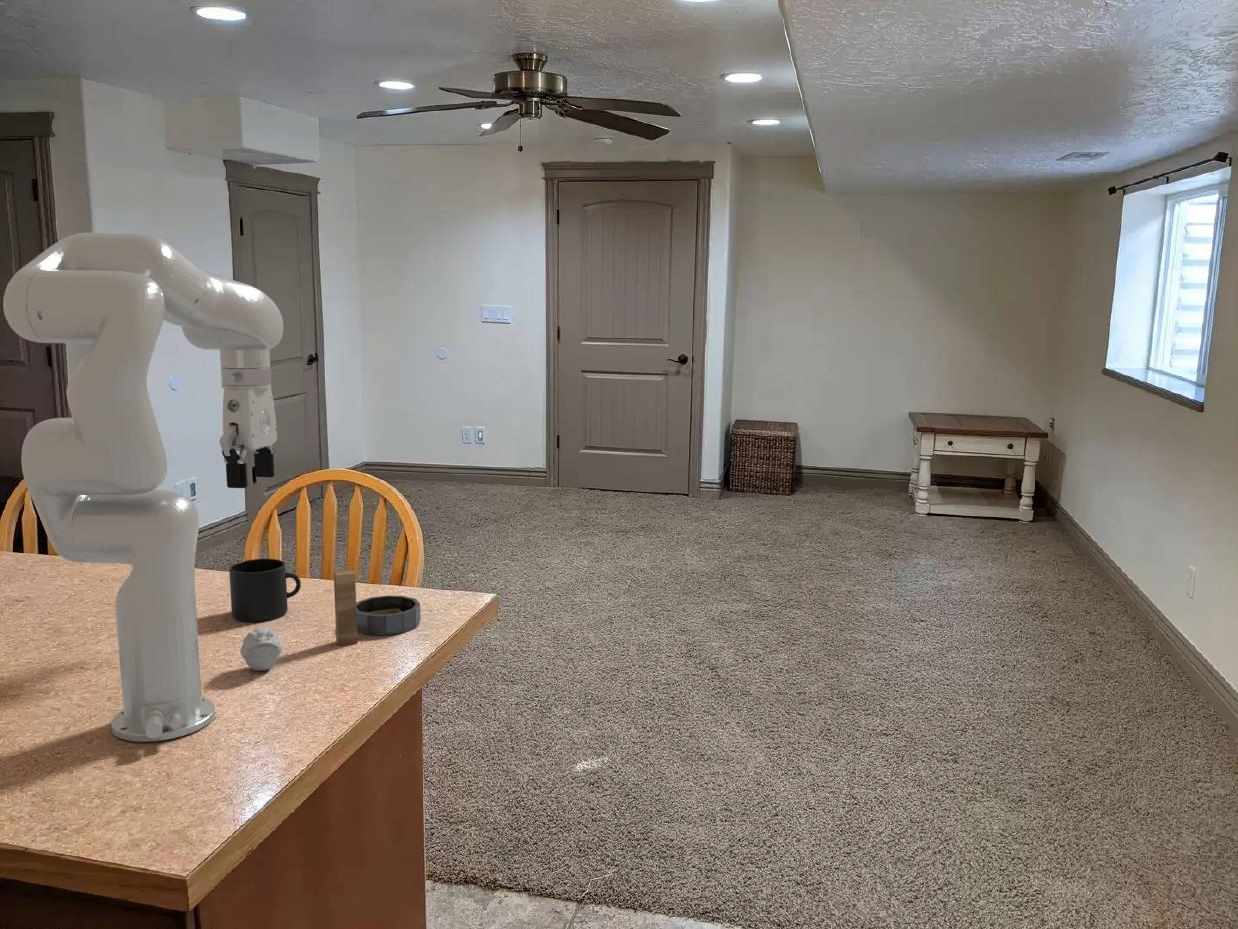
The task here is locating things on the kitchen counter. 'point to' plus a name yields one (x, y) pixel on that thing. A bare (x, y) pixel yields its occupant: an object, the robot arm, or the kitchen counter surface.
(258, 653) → the frog figurine
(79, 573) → the kitchen counter surface
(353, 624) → the brown rectangular bar
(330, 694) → the kitchen counter surface
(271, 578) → the mug
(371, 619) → the dark grey round tray
